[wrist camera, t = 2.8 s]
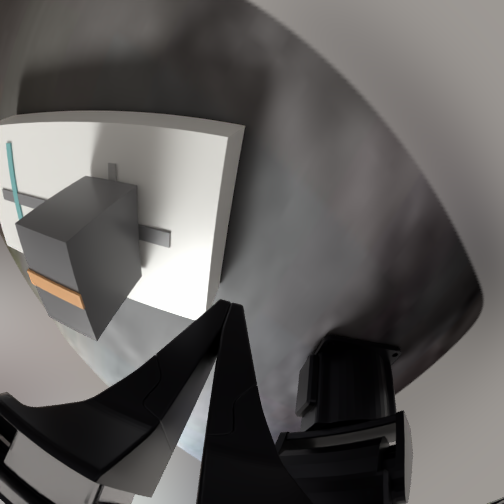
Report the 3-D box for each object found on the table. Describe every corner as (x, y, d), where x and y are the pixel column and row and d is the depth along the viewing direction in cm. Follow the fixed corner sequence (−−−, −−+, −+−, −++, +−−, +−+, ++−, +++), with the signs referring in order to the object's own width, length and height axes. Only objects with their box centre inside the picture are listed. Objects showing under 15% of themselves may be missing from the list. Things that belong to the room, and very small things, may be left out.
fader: (138, 185, 11) (65, 245, 7) (142, 276, 13) (96, 343, 10) (84, 175, 11) (12, 224, 7) (96, 260, 14) (47, 317, 10)
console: (245, 125, 12) (226, 137, 9) (218, 288, 17) (203, 324, 15) (14, 115, 12) (-17, 127, 10) (29, 226, 18) (6, 245, 16)
